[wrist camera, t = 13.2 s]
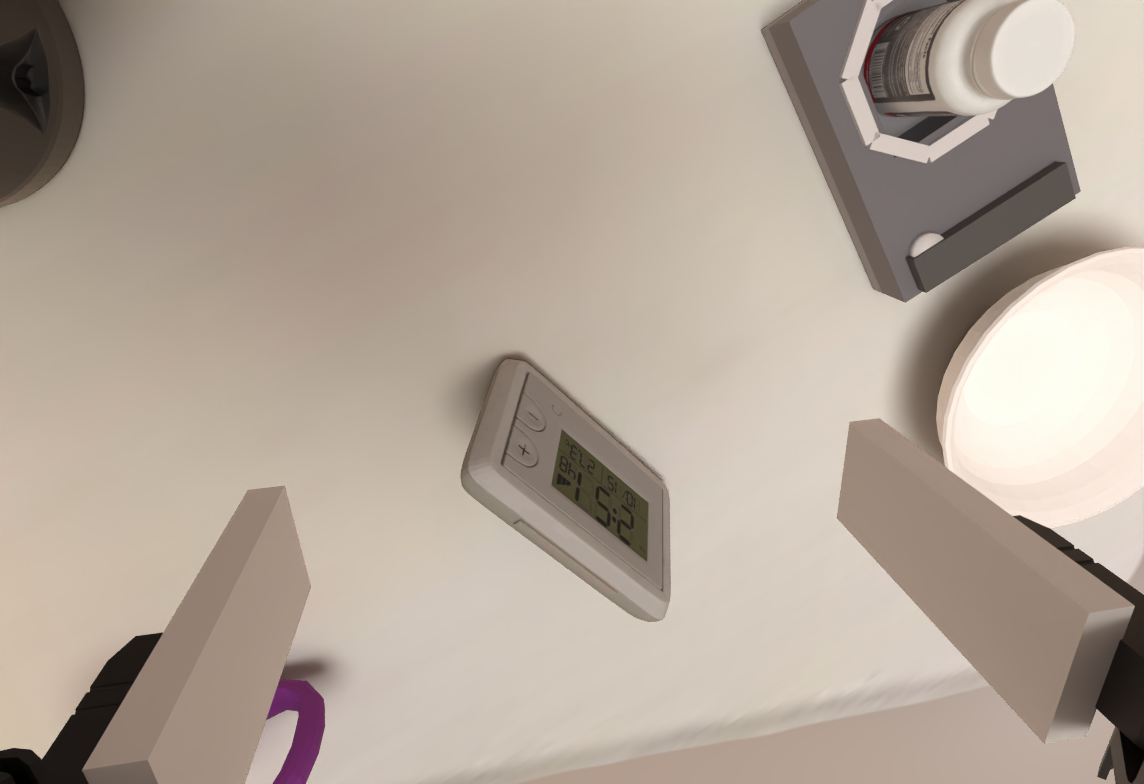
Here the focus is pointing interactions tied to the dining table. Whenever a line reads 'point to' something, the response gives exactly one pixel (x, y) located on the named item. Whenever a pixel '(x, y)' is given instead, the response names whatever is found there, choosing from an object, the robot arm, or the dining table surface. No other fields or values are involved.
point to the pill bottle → (967, 56)
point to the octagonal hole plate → (915, 153)
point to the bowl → (1053, 392)
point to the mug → (300, 728)
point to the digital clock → (571, 490)
